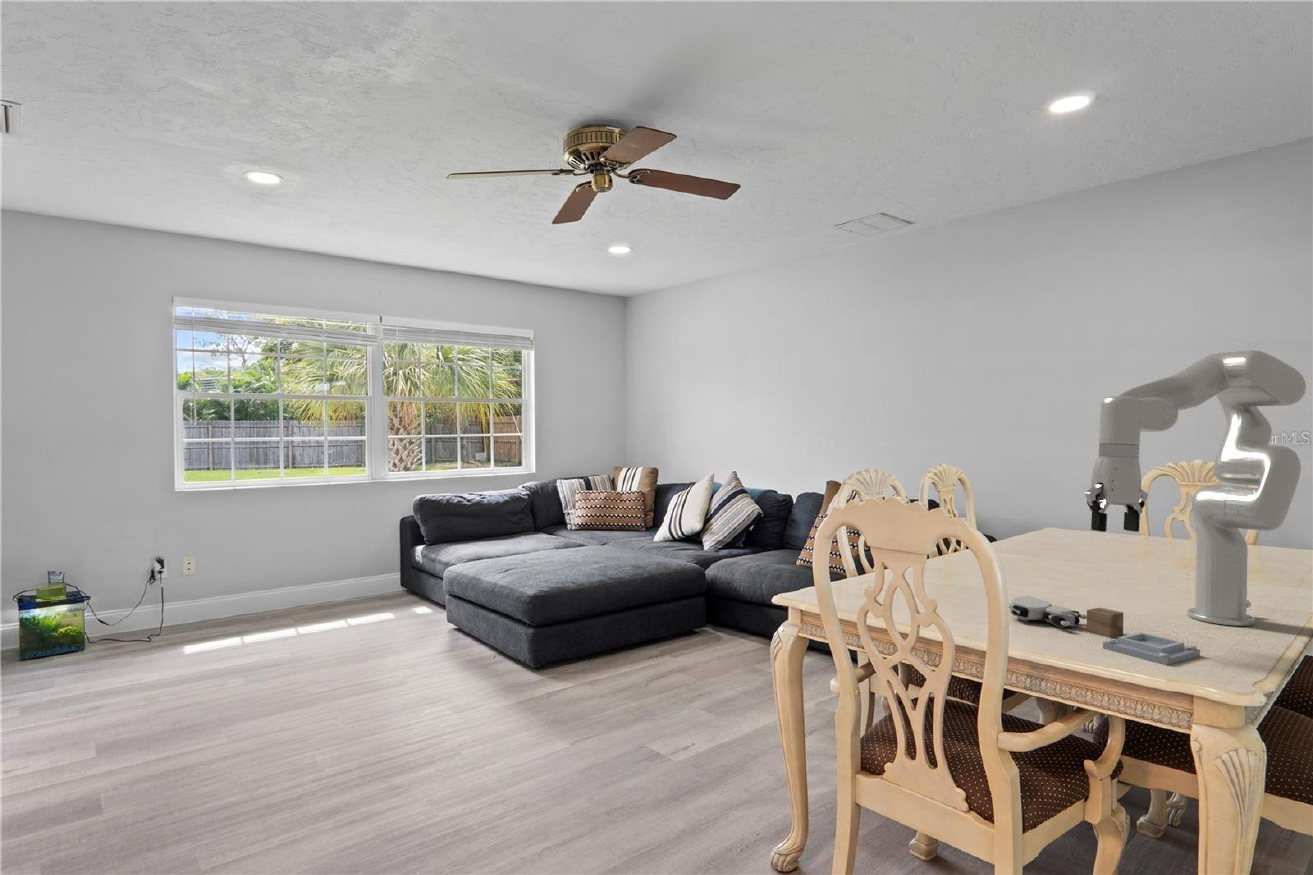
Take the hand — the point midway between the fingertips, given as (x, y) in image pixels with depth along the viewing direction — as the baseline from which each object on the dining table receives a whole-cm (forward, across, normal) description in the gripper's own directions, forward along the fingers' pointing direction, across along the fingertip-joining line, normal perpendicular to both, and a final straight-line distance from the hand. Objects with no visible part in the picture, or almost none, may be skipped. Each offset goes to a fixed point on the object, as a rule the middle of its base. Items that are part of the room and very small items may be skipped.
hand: (1115, 530), depth 158 cm
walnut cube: (+23, 0, -1) cm, 23 cm away
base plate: (+23, +4, +12) cm, 26 cm away
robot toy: (+23, +5, -12) cm, 27 cm away
